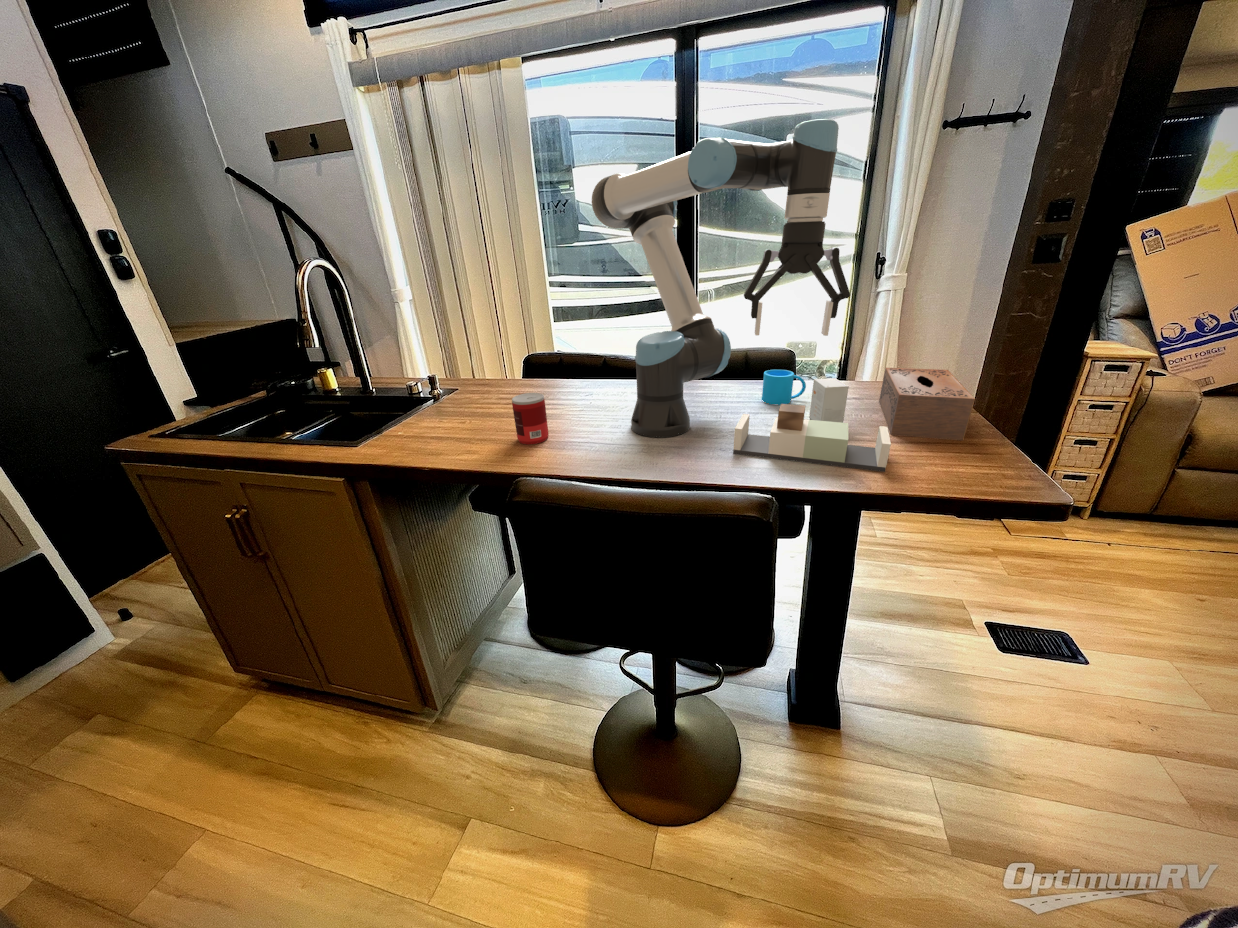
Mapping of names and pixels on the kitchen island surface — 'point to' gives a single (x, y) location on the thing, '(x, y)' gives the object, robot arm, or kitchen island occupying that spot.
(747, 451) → the board
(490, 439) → the kitchen island surface
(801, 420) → the walnut block
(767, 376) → the mug
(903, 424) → the tissue box cover
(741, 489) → the kitchen island surface
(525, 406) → the canned food
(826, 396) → the small box
